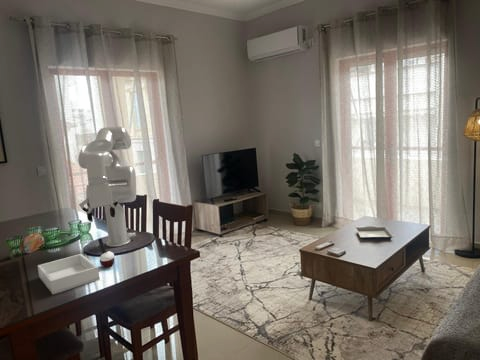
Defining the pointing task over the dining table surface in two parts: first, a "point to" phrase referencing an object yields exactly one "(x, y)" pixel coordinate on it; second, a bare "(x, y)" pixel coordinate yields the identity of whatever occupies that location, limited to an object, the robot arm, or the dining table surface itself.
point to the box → (68, 273)
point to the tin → (32, 242)
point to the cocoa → (106, 256)
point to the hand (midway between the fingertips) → (102, 219)
